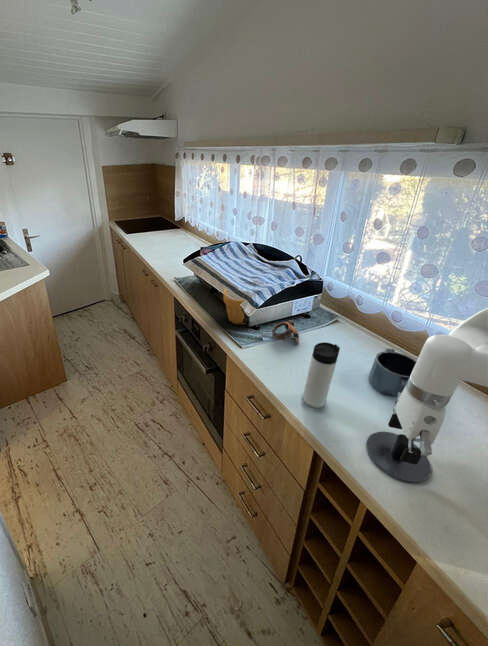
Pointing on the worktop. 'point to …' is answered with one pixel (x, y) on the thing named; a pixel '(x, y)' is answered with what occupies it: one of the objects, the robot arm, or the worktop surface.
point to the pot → (391, 372)
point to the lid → (396, 457)
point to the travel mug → (320, 374)
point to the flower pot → (234, 309)
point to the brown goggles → (288, 333)
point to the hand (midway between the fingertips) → (401, 443)
